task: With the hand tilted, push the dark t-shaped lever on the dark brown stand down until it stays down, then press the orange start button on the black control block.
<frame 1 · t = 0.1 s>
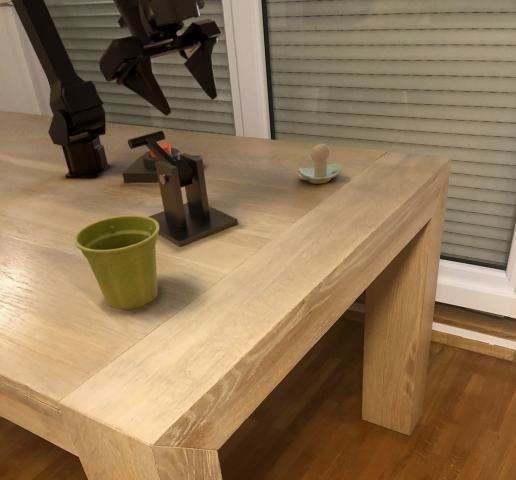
hand: (192, 105, 81), 15 cm above the table, tool tilted 35°, fingers open, 9 cm apart
start button: (160, 150, 99), point 4 cm above the table, slide at 0.1 cm
pacifier: (318, 180, 95), on the table
dark t-shaped lever: (164, 157, 80), point 9 cm above the table, hinge at 20.0°
plant pot: (133, 299, 68), on the table
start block: (165, 176, 102), on the table
dark brown stand: (189, 226, 83), on the table
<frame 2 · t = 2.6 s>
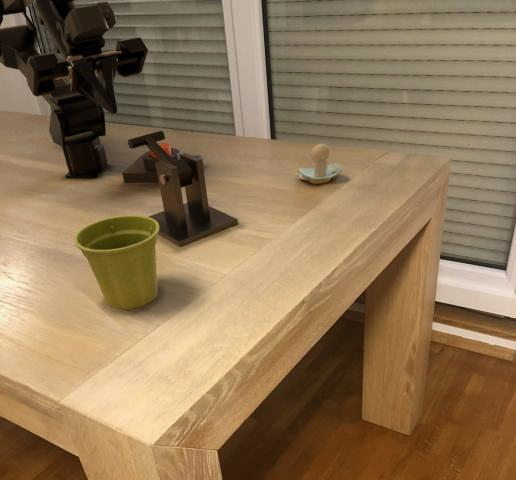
hand: (115, 111, 87), 14 cm above the table, tool tilted 45°, fingers closed
nothing on the table moved.
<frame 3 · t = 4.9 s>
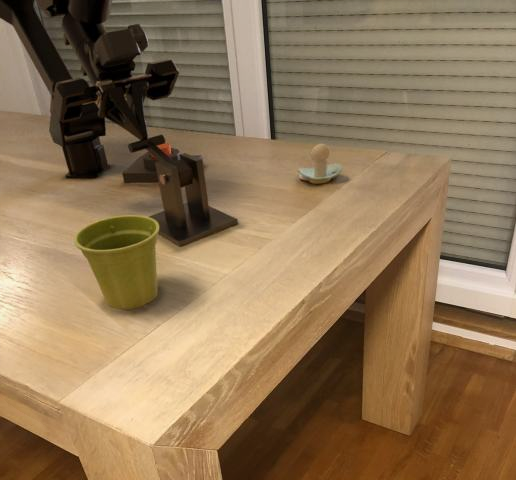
hand: (145, 138, 83), 11 cm above the table, tool tilted 45°, fingers closed, pressing on dark t-shaped lever
dark t-shaped lever: (164, 159, 81), point 9 cm above the table, hinge at 15.8°, touching gripper
everything else where it was.
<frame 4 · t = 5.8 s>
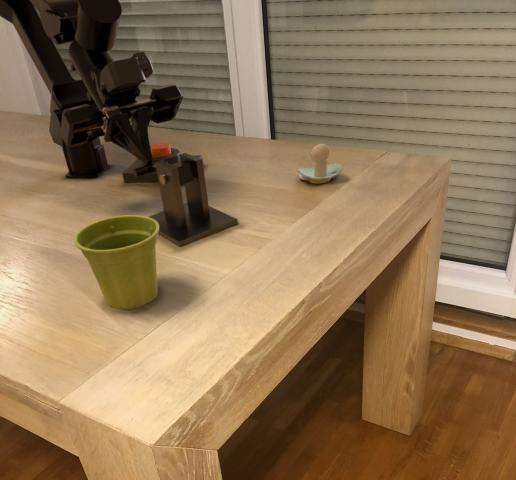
hand: (150, 162, 85), 8 cm above the table, tool tilted 45°, fingers closed, pressing on dark t-shaped lever
dark t-shaped lever: (166, 171, 82), point 7 cm above the table, hinge at -8.3°, touching gripper
everything else where it was.
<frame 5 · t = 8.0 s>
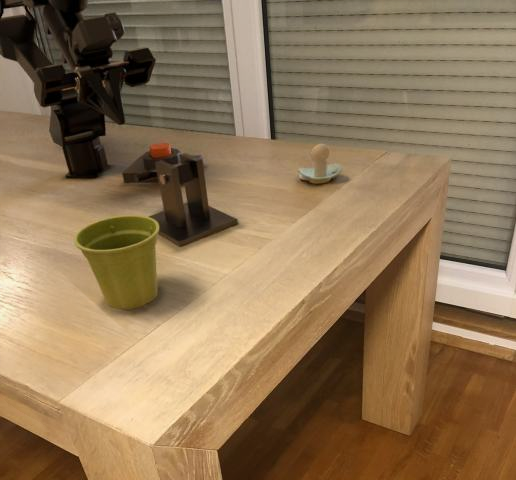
hand: (122, 123, 87), 12 cm above the table, tool tilted 45°, fingers closed
dark t-shaped lever: (167, 173, 82), point 7 cm above the table, hinge at -13.5°
everything else where it was.
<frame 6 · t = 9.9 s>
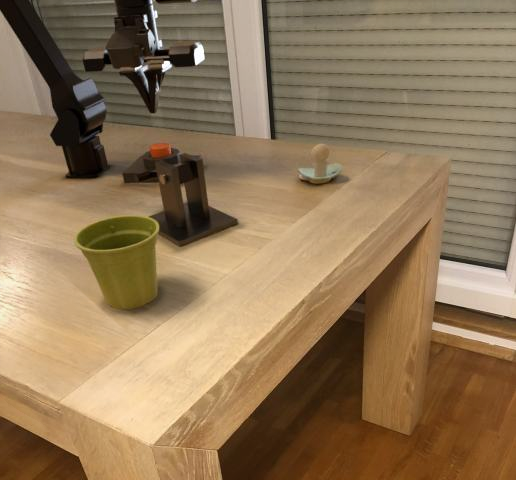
hand: (153, 112, 96), 11 cm above the table, tool pointing down, fingers closed
nothing on the table moved.
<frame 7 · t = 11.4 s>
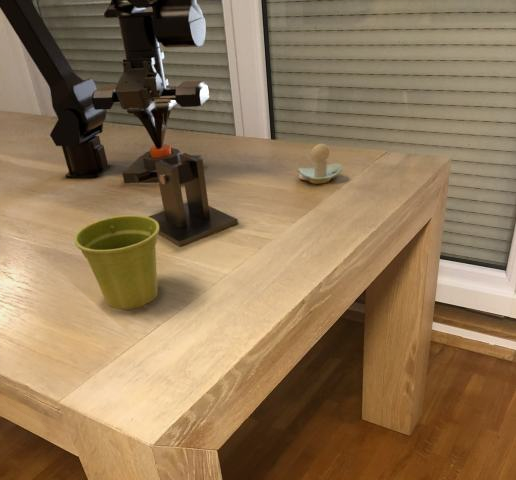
hand: (159, 147, 99), 5 cm above the table, tool pointing down, fingers closed, pressing on start button
start button: (160, 152, 100), point 4 cm above the table, slide at -0.2 cm, touching gripper
everything else where it was.
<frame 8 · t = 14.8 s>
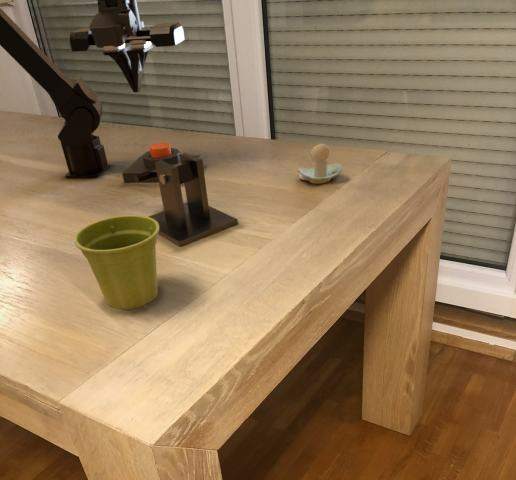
hand: (136, 91, 100), 13 cm above the table, tool pointing down, fingers closed
start button: (160, 150, 99), point 4 cm above the table, slide at 0.1 cm
everything else where it was.
at the end: dark t-shaped lever at -14° (first picture: +20°); start button pushed in 1.1 cm at the most during the clip, back to where it started at the end; start button slide at 0.1 cm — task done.
